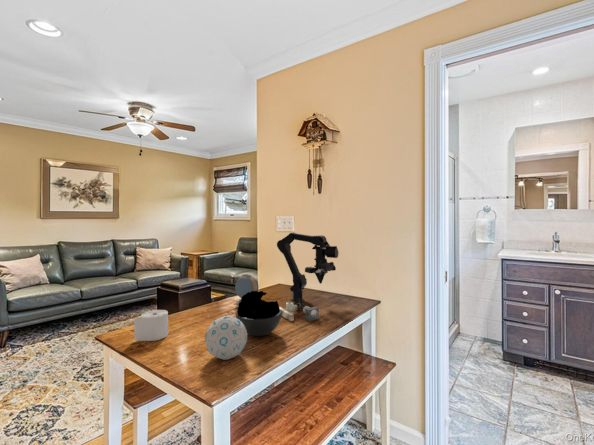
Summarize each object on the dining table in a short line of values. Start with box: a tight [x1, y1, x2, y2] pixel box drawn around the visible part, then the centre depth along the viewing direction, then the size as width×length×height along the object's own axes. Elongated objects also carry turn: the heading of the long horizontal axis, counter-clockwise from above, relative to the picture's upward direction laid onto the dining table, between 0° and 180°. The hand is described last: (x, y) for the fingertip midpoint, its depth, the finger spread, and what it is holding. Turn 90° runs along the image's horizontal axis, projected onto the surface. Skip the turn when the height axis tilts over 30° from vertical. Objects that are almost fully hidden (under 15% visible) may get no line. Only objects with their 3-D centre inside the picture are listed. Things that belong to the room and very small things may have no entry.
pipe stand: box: [302, 305, 320, 322], centre depth 153 cm, size 8×6×6 cm
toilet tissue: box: [133, 309, 169, 342], centre depth 131 cm, size 11×12×10 cm
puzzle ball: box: [204, 315, 248, 361], centre depth 112 cm, size 15×15×15 cm
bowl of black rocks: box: [235, 290, 283, 337], centre depth 133 cm, size 20×20×19 cm
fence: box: [279, 306, 295, 322], centre depth 158 cm, size 18×2×3 cm, turn 32°
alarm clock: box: [233, 273, 259, 306], centre depth 179 cm, size 14×10×18 cm
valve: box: [284, 299, 305, 314], centre depth 162 cm, size 7×7×12 cm
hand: (320, 283), depth 179 cm, fingers closed
